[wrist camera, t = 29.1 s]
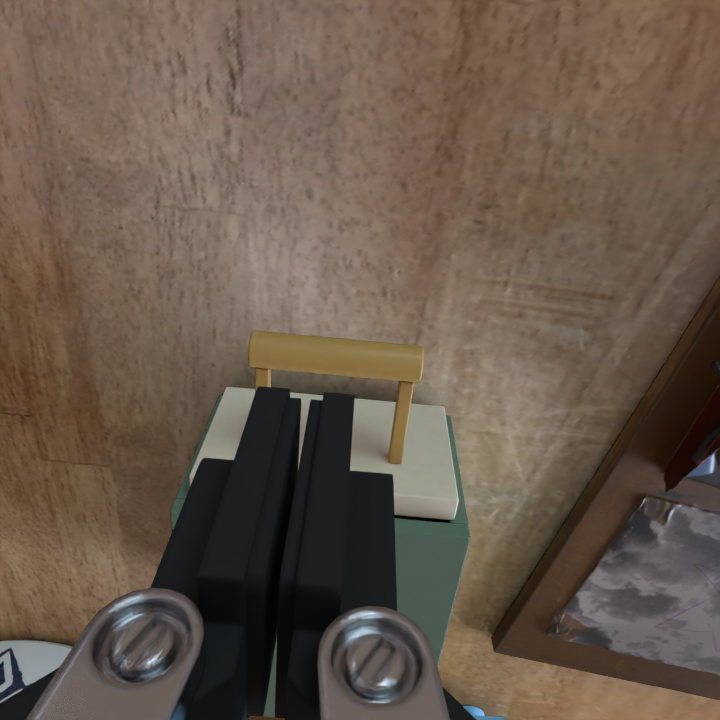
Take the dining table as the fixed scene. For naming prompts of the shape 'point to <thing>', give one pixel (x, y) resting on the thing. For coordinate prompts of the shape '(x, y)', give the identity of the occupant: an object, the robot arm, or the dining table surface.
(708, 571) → the picture frame
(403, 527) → the cabinet
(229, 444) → the drawer
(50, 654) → the planter
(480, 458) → the dining table surface
